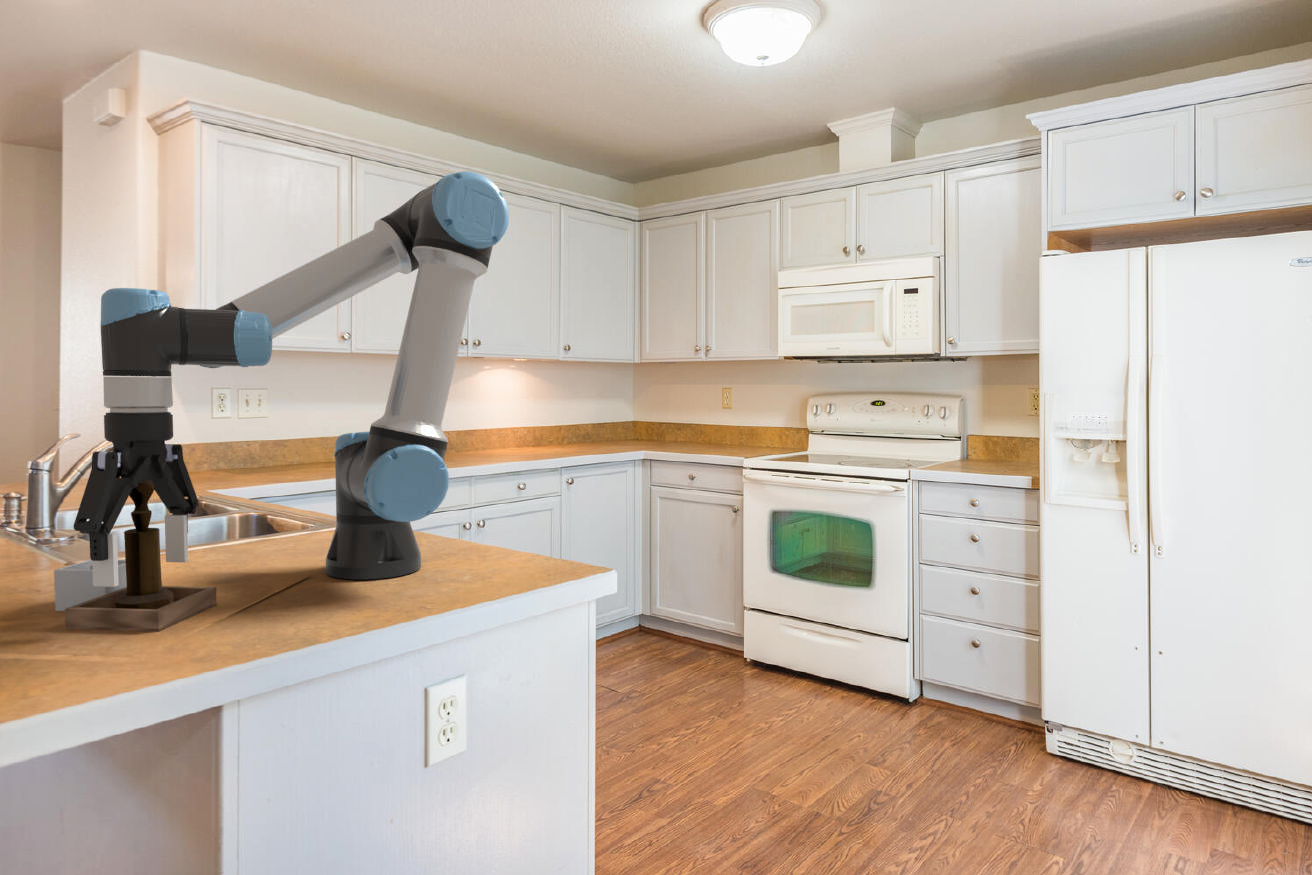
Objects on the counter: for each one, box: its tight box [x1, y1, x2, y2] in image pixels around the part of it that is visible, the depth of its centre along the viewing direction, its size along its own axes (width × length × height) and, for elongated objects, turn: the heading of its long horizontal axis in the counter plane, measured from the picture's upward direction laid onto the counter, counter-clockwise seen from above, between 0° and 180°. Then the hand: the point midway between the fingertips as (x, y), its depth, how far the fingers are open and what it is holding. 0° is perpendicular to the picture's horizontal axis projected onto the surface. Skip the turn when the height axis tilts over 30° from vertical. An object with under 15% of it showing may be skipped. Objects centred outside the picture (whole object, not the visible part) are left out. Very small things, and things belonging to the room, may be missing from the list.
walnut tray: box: [64, 585, 218, 633], centre depth 107 cm, size 12×12×3 cm
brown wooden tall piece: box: [115, 479, 174, 609], centre depth 106 cm, size 7×6×18 cm
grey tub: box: [53, 558, 127, 612], centre depth 112 cm, size 7×7×6 cm
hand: (143, 573), depth 107 cm, fingers open, 13 cm apart
